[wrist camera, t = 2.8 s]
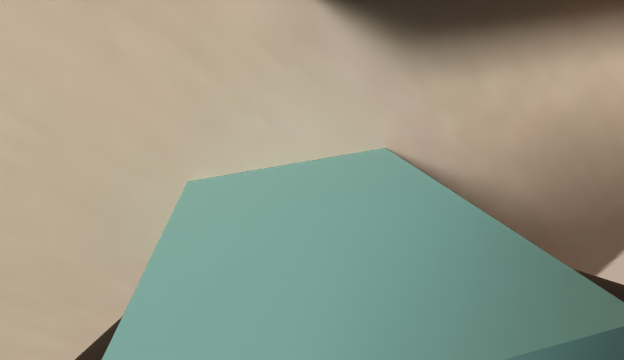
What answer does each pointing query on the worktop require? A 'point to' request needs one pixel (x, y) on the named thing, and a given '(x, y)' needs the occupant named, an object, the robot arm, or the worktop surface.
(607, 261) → the worktop surface
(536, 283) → the teal block
